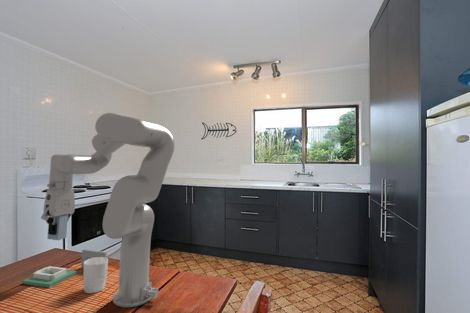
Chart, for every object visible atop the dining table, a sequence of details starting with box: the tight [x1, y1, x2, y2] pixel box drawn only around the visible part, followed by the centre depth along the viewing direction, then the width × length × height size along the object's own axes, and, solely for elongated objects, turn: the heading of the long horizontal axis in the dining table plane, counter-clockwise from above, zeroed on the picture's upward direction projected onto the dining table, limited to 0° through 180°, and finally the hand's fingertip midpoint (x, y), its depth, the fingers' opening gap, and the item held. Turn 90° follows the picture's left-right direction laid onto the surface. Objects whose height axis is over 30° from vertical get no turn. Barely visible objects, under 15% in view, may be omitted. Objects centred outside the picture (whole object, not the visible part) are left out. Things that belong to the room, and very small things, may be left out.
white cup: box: [83, 257, 109, 294], centre depth 91 cm, size 8×8×10 cm
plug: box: [47, 215, 69, 241], centre depth 98 cm, size 6×4×9 cm, turn 78°
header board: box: [22, 265, 78, 288], centre depth 98 cm, size 12×12×3 cm
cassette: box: [80, 248, 108, 268], centre depth 108 cm, size 12×2×8 cm, turn 76°
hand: (57, 232), depth 98 cm, fingers closed on plug, 3 cm apart
